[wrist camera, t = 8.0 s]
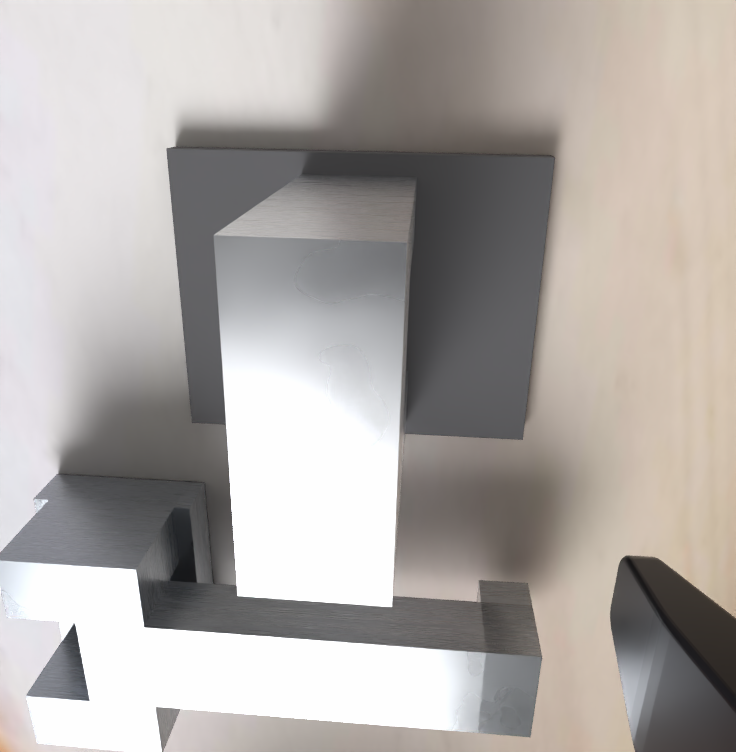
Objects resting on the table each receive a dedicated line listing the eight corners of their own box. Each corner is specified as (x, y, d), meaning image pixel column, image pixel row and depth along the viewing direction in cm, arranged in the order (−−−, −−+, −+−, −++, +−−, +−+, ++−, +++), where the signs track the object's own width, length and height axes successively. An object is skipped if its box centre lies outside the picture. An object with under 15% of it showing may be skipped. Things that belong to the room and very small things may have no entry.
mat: (550, 155, 18) (555, 157, 17) (520, 430, 21) (522, 439, 21) (174, 146, 19) (166, 148, 18) (198, 414, 22) (192, 422, 21)
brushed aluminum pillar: (416, 177, 18) (406, 242, 11) (406, 420, 21) (392, 607, 13) (301, 174, 18) (213, 235, 11) (306, 415, 21) (237, 595, 13)
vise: (528, 501, 22) (550, 597, 18) (507, 668, 25) (523, 785, 21) (57, 474, 23) (-25, 559, 19) (87, 636, 26) (21, 742, 22)
